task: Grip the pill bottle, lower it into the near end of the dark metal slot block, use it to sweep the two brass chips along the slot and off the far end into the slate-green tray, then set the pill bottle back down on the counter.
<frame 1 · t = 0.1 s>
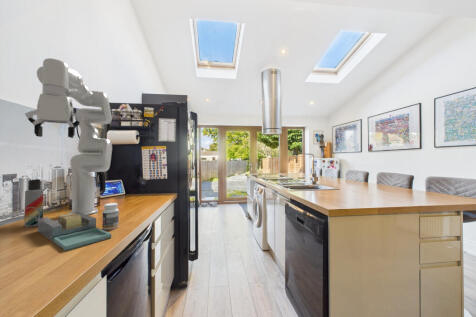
hand: (55, 136, 77), 37 cm above the counter, tool pointing down, fingers open, 9 cm apart
tray: (83, 240, 70), on the counter
far chip: (72, 225, 76), point 3 cm above the counter, touching slot block
slot block: (66, 230, 79), on the counter
pill bottle: (110, 228, 83), on the counter
lotion bottle: (33, 225, 87), on the counter
near chip: (67, 223, 79), point 3 cm above the counter, touching slot block
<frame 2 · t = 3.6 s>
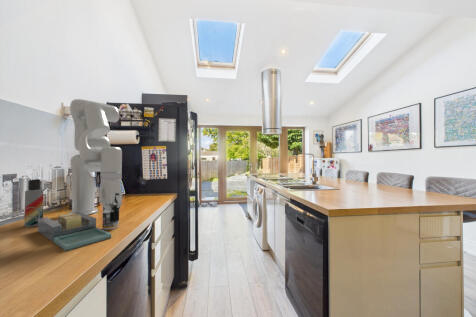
hand: (110, 219, 83), 4 cm above the counter, tool pointing down, fingers closed on pill bottle, 5 cm apart
pill bottle: (110, 228, 83), on the counter, touching gripper
everything else where it was.
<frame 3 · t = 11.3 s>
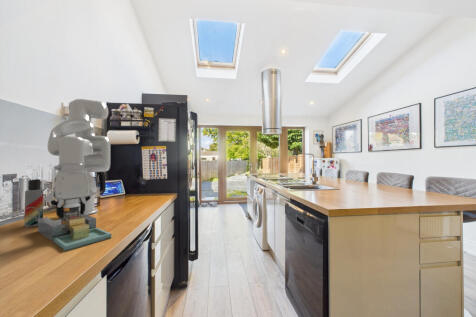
hand: (71, 214, 77), 7 cm above the counter, tool pointing down, fingers closed on pill bottle, 5 cm apart
far chip: (78, 230, 73), point 2 cm above the counter, tilted 90°, touching tray
pill bottle: (71, 224, 77), point 3 cm above the counter, touching gripper
near chip: (75, 227, 74), point 3 cm above the counter
everything else where it was.
when the fingers open (5 cm above the counter, at t = 18.7 s): pill bottle drops 1 cm, on the counter.
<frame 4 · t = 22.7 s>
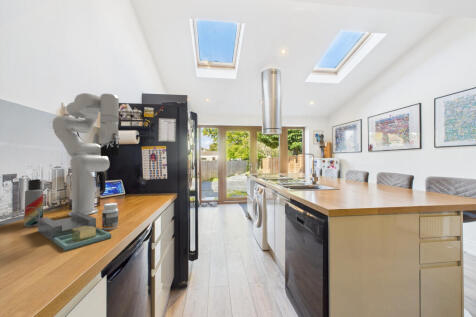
hand: (109, 156, 95), 30 cm above the counter, tool pointing down, fingers open, 9 cm apart
far chip: (84, 233, 70), point 2 cm above the counter, tilted 90°, touching tray
pill bottle: (110, 228, 83), on the counter
near chip: (81, 238, 71), resting on tray
everything else where it was.
at the end: near chip inside the target area on the tray (1.4 cm from its centre), point 0.4 cm above the tray's base; far chip inside the target area on the tray (0.6 cm from its centre), point 2.4 cm above the tray's base; pill bottle tilted 0° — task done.
